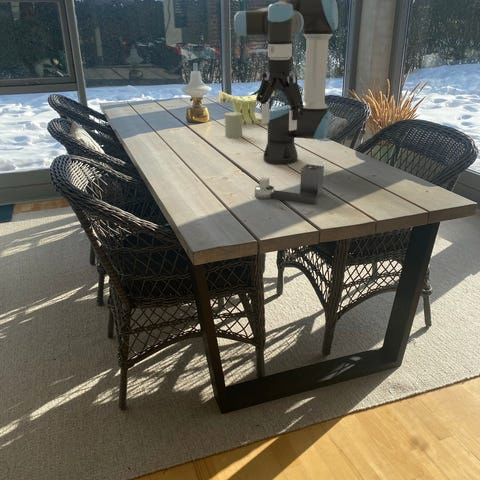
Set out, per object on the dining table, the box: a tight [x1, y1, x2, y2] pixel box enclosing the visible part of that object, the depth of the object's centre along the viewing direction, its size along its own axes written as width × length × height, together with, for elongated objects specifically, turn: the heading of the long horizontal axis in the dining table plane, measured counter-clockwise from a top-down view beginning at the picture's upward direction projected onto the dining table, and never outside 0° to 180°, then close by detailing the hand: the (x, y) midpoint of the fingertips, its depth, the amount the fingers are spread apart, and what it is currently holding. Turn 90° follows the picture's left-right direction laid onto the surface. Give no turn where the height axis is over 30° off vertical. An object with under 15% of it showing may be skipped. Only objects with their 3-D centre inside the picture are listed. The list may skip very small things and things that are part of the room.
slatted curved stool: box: [218, 89, 275, 125], centre depth 288 cm, size 30×16×18 cm, turn 100°
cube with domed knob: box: [299, 163, 325, 199], centre depth 174 cm, size 6×6×10 cm
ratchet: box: [254, 176, 318, 206], centre depth 172 cm, size 7×22×6 cm, turn 65°
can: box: [224, 111, 243, 139], centre depth 256 cm, size 9×9×12 cm
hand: (278, 126), depth 162 cm, fingers open, 13 cm apart
